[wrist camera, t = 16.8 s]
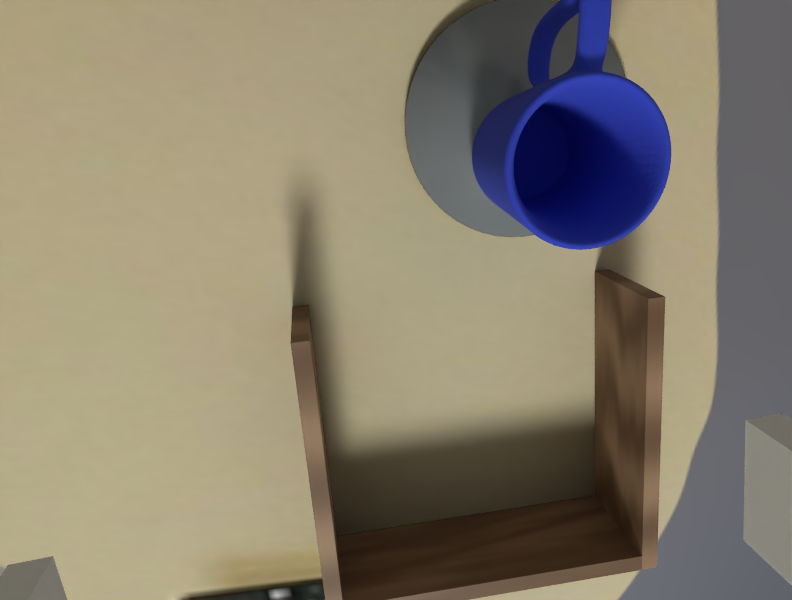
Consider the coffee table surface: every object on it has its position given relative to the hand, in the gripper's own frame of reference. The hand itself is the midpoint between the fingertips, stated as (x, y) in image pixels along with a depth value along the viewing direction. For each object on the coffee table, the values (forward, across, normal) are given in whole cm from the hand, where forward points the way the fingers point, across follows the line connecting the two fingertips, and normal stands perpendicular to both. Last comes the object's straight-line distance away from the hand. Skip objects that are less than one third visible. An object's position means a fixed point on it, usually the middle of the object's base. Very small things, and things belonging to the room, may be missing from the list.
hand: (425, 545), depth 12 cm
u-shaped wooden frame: (+30, +7, -13) cm, 33 cm away
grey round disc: (+30, +12, +6) cm, 33 cm away
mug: (+29, +12, +6) cm, 32 cm away
